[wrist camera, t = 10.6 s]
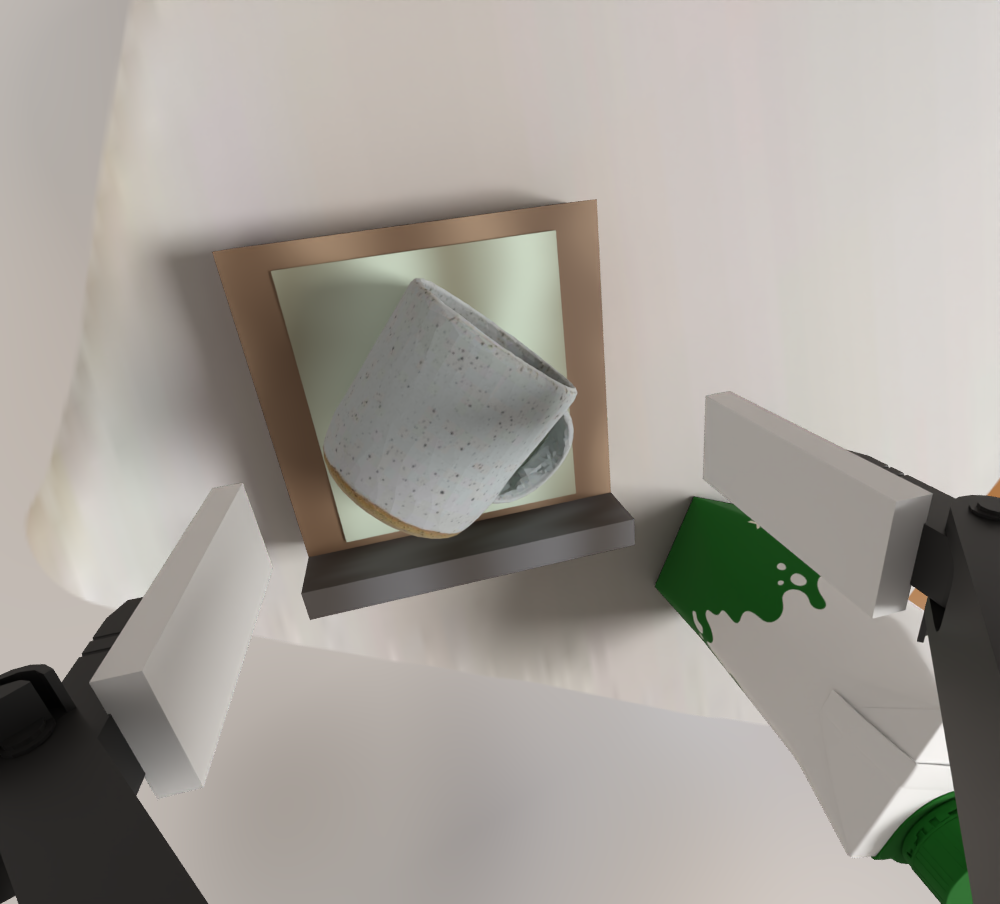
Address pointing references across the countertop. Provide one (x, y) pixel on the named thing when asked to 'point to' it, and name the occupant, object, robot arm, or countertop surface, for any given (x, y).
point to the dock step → (350, 337)
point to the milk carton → (828, 689)
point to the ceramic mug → (446, 418)
